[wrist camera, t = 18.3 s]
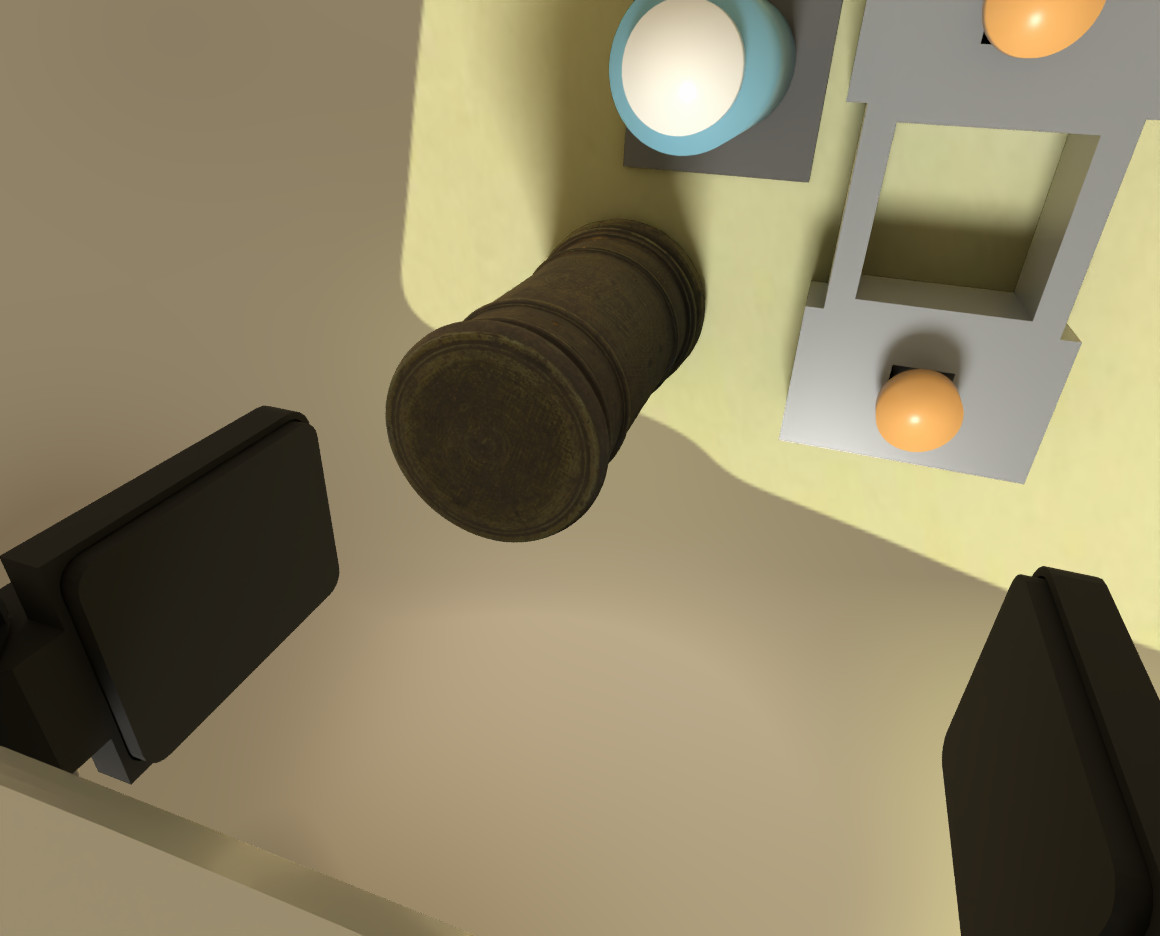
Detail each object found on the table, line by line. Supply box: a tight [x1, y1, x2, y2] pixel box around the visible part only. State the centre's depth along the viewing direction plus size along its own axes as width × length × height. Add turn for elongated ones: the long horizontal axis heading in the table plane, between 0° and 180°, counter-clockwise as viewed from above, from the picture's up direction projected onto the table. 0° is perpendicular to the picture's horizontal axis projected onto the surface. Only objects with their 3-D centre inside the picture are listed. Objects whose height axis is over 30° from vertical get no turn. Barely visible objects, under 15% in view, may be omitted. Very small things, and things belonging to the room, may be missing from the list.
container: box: [386, 219, 705, 542], centre depth 32 cm, size 9×9×18 cm
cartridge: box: [609, 0, 796, 156], centre depth 28 cm, size 5×5×11 cm
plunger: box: [982, 0, 1106, 58], centre depth 26 cm, size 3×3×6 cm
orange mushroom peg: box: [875, 365, 964, 452], centre depth 33 cm, size 3×3×6 cm
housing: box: [779, 0, 1160, 484], centre depth 31 cm, size 11×22×4 cm, turn 178°
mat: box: [623, 0, 843, 182], centre depth 33 cm, size 9×9×1 cm
